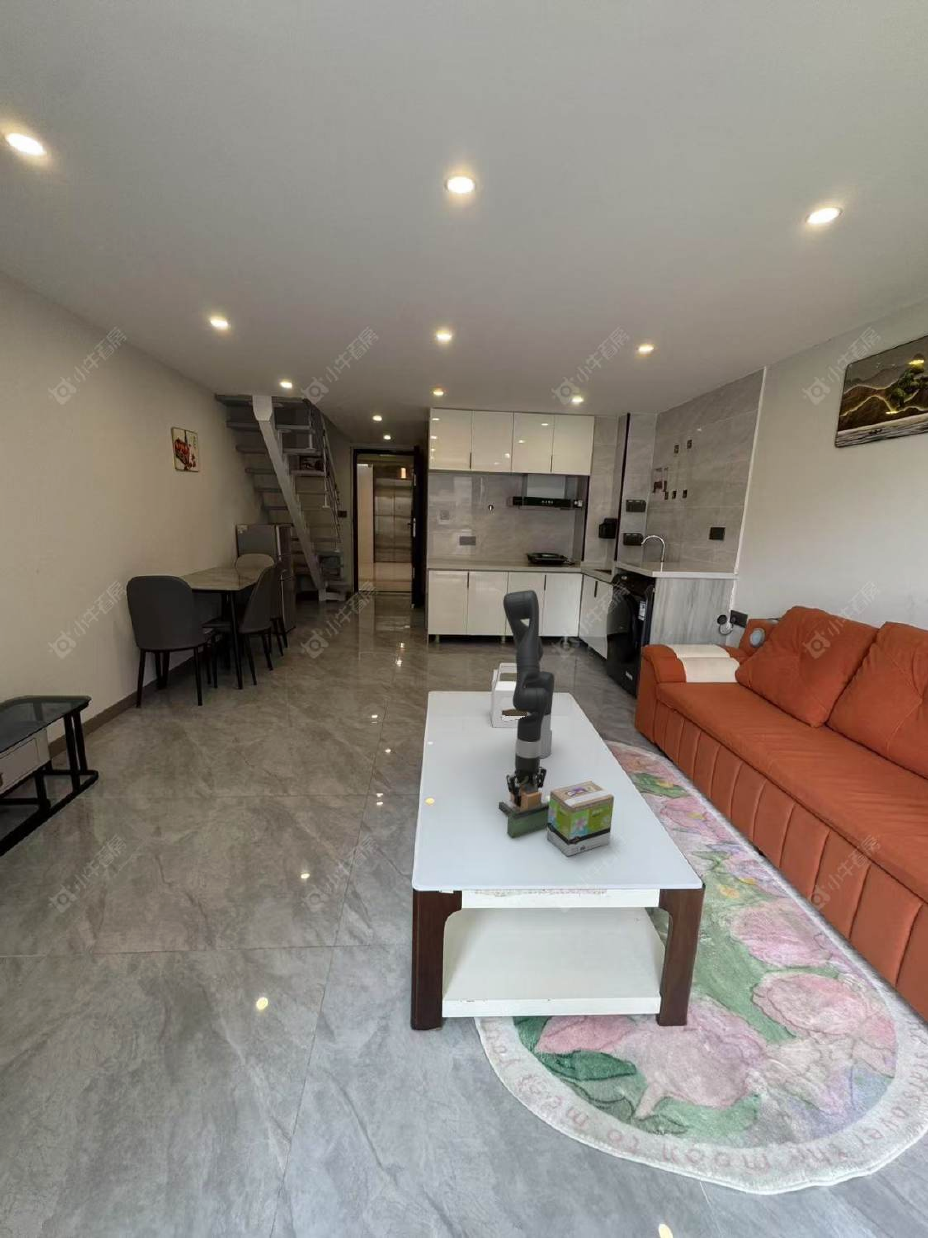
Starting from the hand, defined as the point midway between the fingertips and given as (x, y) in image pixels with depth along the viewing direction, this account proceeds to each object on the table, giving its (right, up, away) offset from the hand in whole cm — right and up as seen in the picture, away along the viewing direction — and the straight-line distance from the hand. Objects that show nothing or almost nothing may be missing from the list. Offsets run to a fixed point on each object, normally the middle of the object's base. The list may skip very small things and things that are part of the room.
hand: (525, 803), depth 154 cm
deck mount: (+1, -3, -1) cm, 4 cm away
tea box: (+13, -6, -13) cm, 19 cm away
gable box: (+4, +9, +73) cm, 73 cm away
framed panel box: (0, -1, 0) cm, 1 cm away
